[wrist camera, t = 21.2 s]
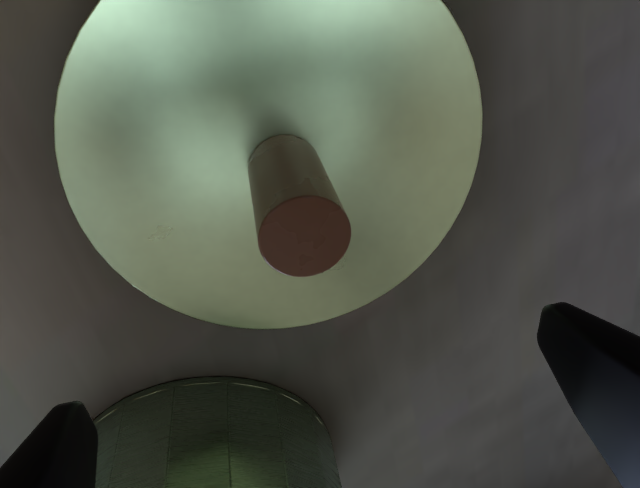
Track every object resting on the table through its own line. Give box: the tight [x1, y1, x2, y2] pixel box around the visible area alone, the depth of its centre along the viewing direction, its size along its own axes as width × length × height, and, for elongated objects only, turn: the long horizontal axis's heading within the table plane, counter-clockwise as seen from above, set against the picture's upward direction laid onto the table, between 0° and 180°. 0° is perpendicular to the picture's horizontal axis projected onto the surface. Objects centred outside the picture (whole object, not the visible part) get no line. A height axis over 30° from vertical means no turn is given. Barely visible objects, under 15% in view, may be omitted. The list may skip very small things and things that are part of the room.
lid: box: [54, 0, 483, 329], centre depth 15 cm, size 14×14×6 cm
